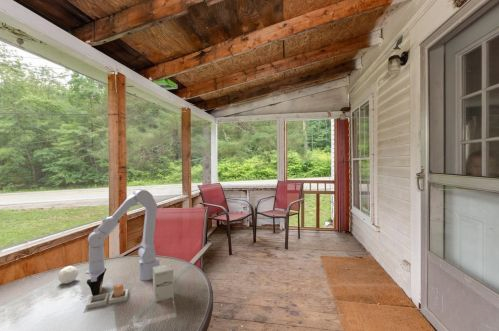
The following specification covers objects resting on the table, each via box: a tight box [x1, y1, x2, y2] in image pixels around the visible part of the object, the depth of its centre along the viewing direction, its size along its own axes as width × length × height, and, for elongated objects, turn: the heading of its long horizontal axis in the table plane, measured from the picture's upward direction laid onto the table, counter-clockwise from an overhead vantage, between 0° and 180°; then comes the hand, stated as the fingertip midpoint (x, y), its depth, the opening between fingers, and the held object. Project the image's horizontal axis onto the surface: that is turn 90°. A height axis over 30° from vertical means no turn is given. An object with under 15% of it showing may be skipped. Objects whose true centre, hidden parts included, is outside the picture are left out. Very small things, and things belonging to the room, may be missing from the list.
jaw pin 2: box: [113, 283, 124, 298], centre depth 98 cm, size 3×3×5 cm
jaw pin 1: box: [99, 282, 103, 294], centre depth 103 cm, size 3×3×5 cm
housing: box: [83, 288, 131, 313], centre depth 96 cm, size 15×11×3 cm
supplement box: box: [152, 263, 175, 303], centre depth 99 cm, size 7×7×13 cm
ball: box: [57, 265, 79, 285], centre depth 115 cm, size 8×8×8 cm
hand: (97, 290), depth 103 cm, fingers open, 7 cm apart
